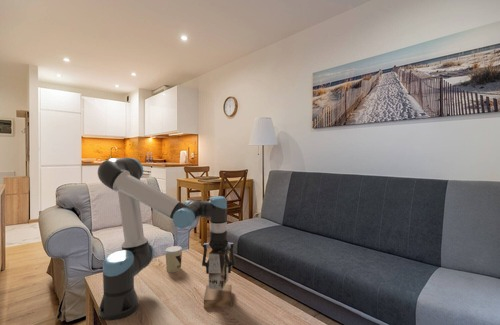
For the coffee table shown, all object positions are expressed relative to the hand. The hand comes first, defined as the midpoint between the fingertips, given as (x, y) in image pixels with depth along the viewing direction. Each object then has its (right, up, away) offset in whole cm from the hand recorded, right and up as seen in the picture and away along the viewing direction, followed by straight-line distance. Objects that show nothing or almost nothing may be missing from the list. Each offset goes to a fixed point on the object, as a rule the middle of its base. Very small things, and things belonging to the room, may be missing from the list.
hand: (218, 279), depth 119 cm
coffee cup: (-29, -7, +30) cm, 42 cm away
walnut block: (0, -10, +1) cm, 10 cm away
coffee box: (0, -2, 0) cm, 2 cm away
